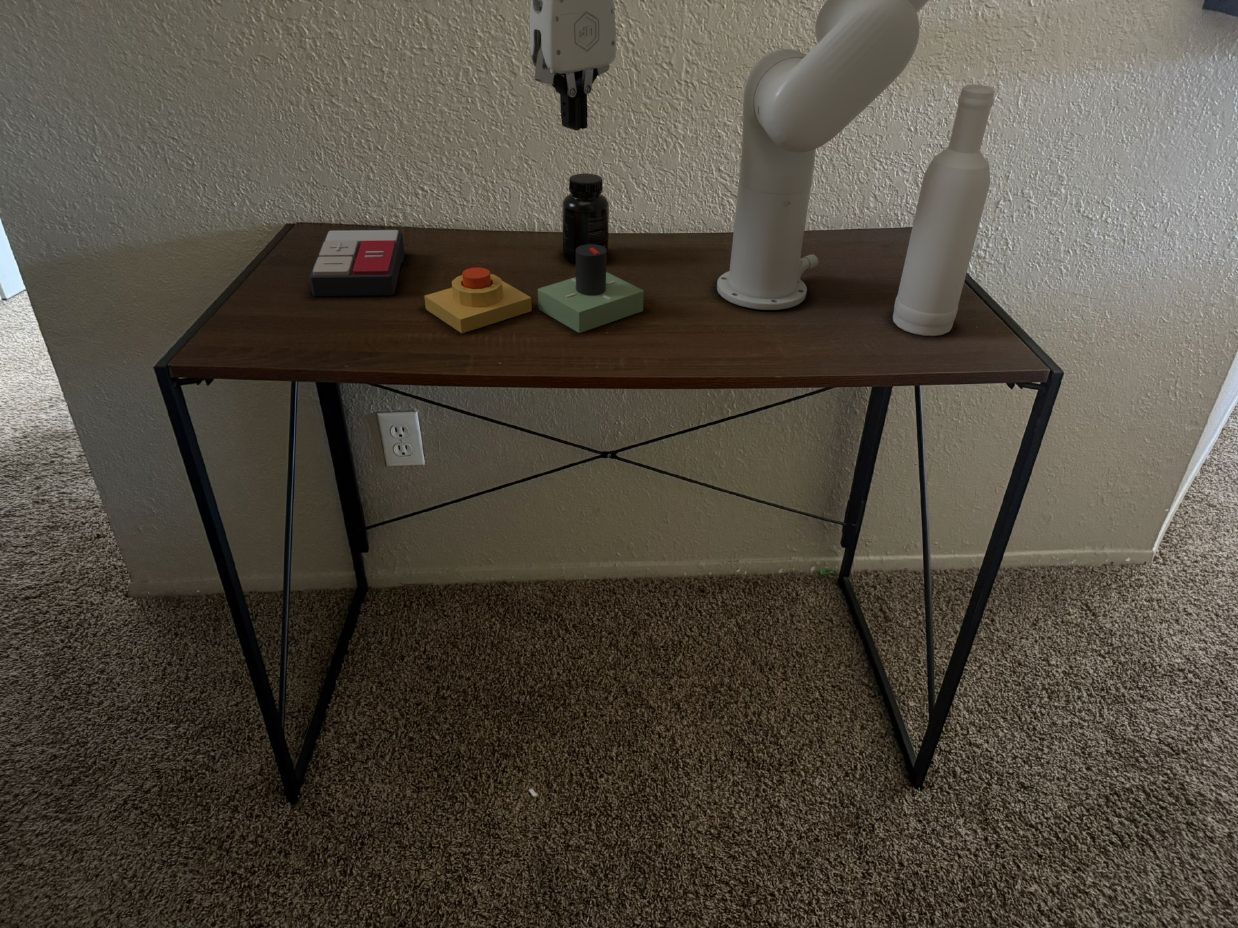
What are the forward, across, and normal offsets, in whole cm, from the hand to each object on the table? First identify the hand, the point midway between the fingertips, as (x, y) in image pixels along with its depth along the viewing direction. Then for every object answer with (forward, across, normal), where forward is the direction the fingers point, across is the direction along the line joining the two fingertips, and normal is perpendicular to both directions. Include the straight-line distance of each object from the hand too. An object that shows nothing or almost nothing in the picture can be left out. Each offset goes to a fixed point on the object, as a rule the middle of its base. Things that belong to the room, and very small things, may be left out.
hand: (574, 127), depth 113 cm
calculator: (+22, -21, +24) cm, 39 cm away
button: (+19, -14, +4) cm, 24 cm away
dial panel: (+23, -2, -5) cm, 23 cm away
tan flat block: (+22, -14, +4) cm, 27 cm away
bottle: (+24, +30, -35) cm, 53 cm away
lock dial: (+20, -2, -5) cm, 20 cm away
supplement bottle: (+23, +9, +10) cm, 26 cm away
